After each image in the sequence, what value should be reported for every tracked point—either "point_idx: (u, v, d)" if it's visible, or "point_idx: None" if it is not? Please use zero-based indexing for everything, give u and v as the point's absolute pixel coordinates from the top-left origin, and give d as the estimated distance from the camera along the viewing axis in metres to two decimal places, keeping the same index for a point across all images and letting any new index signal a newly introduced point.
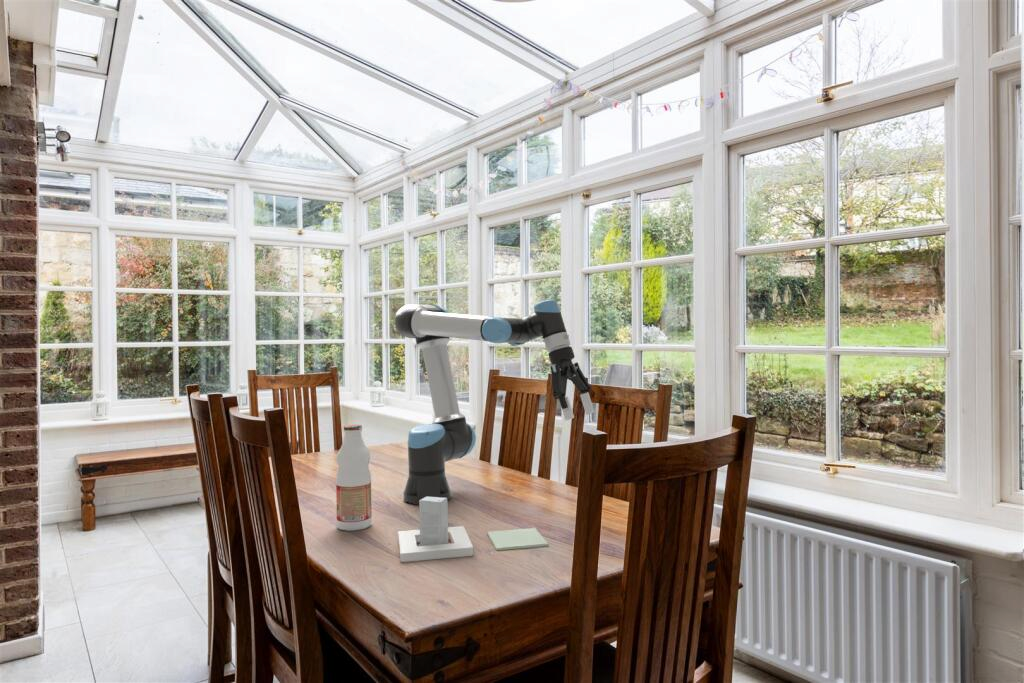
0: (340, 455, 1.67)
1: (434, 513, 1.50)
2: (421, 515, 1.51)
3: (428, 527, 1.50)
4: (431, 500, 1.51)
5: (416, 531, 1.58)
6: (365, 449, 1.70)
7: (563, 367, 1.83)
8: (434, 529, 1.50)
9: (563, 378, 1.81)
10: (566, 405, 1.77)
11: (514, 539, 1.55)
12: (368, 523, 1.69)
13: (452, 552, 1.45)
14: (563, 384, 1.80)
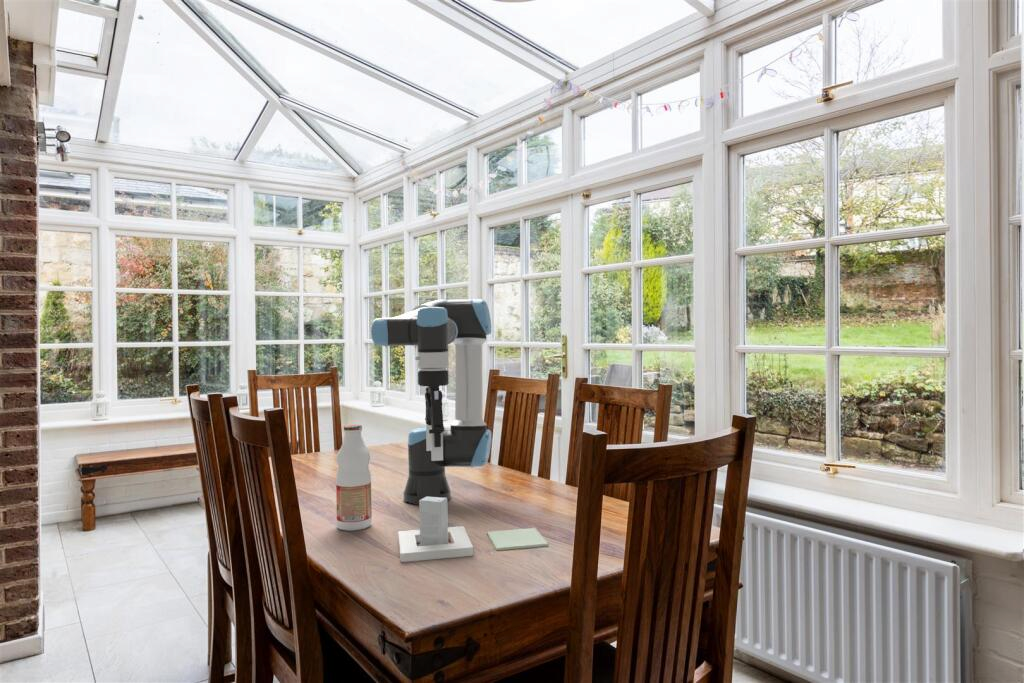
0: (340, 455, 1.67)
1: (434, 513, 1.50)
2: (421, 515, 1.51)
3: (428, 527, 1.50)
4: (431, 500, 1.51)
5: (416, 531, 1.58)
6: (365, 449, 1.70)
7: None
8: (434, 529, 1.50)
9: None
10: None
11: (514, 539, 1.55)
12: (368, 523, 1.69)
13: (452, 552, 1.45)
14: None
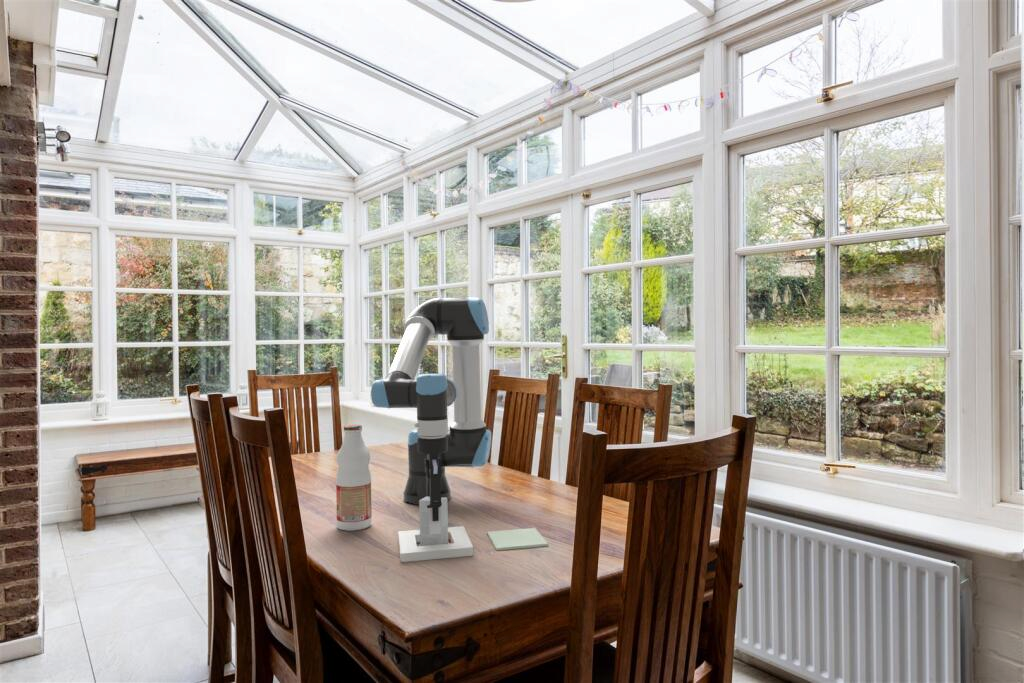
0: (340, 455, 1.67)
1: None
2: (421, 515, 1.51)
3: (428, 527, 1.50)
4: None
5: (416, 531, 1.58)
6: (365, 449, 1.70)
7: (427, 458, 1.55)
8: None
9: None
10: None
11: (514, 539, 1.55)
12: (368, 523, 1.69)
13: (452, 552, 1.45)
14: None
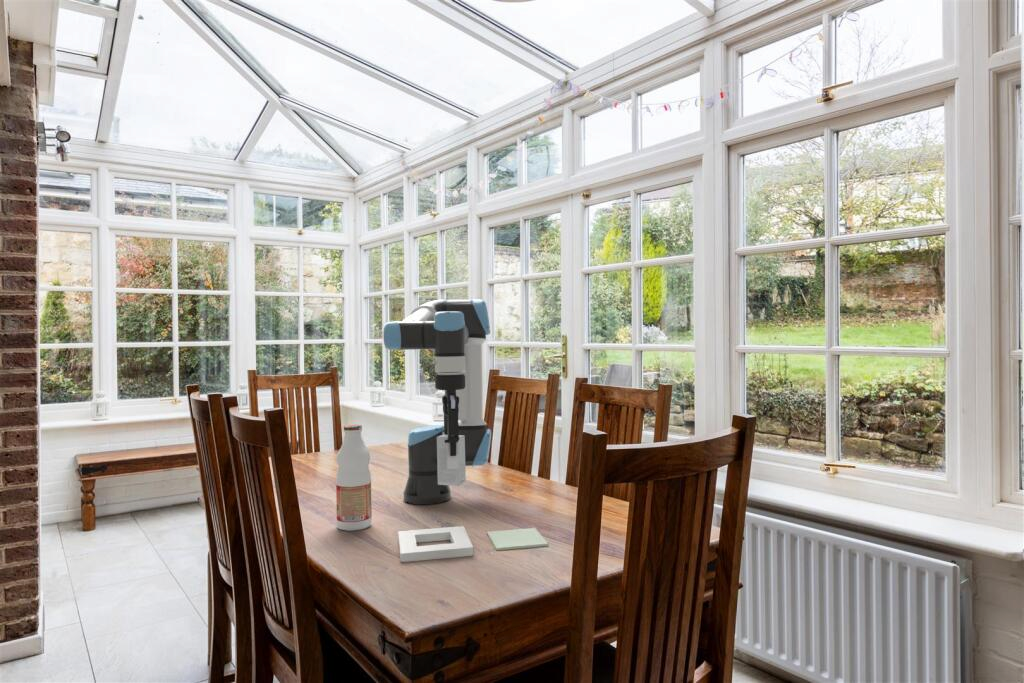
0: (340, 455, 1.67)
1: None
2: (439, 451, 1.52)
3: (445, 464, 1.51)
4: None
5: (416, 531, 1.58)
6: (365, 449, 1.70)
7: None
8: None
9: None
10: None
11: (514, 539, 1.55)
12: (368, 523, 1.69)
13: (452, 552, 1.45)
14: None
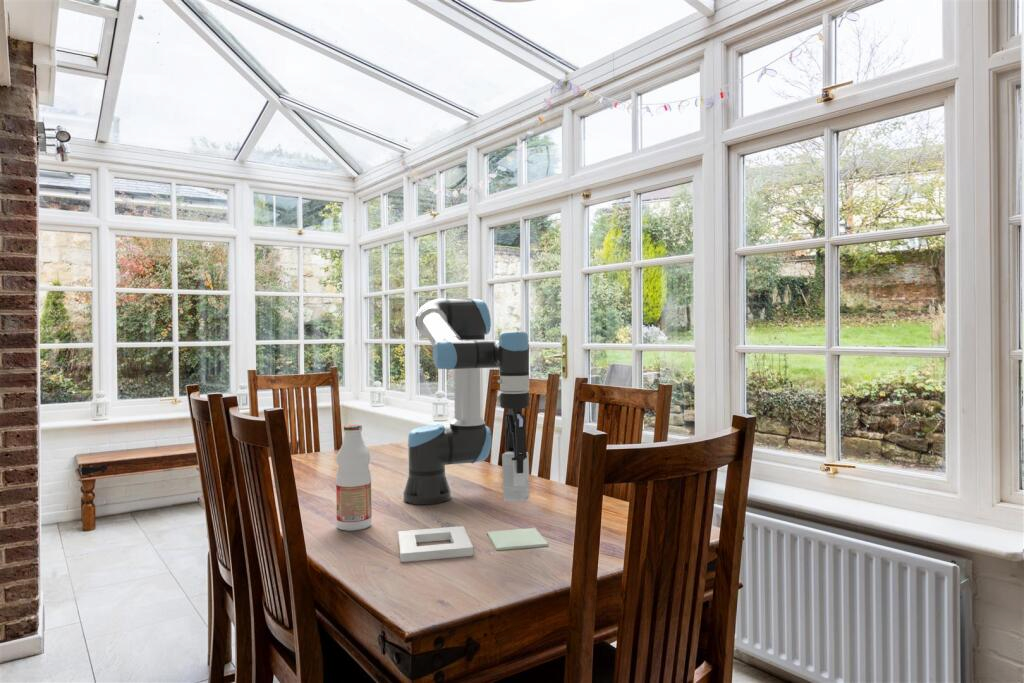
0: (340, 455, 1.67)
1: None
2: (504, 468, 1.55)
3: (511, 480, 1.55)
4: None
5: (416, 531, 1.58)
6: (365, 449, 1.70)
7: (508, 414, 1.59)
8: None
9: None
10: None
11: (514, 539, 1.55)
12: (368, 523, 1.69)
13: (452, 552, 1.45)
14: None
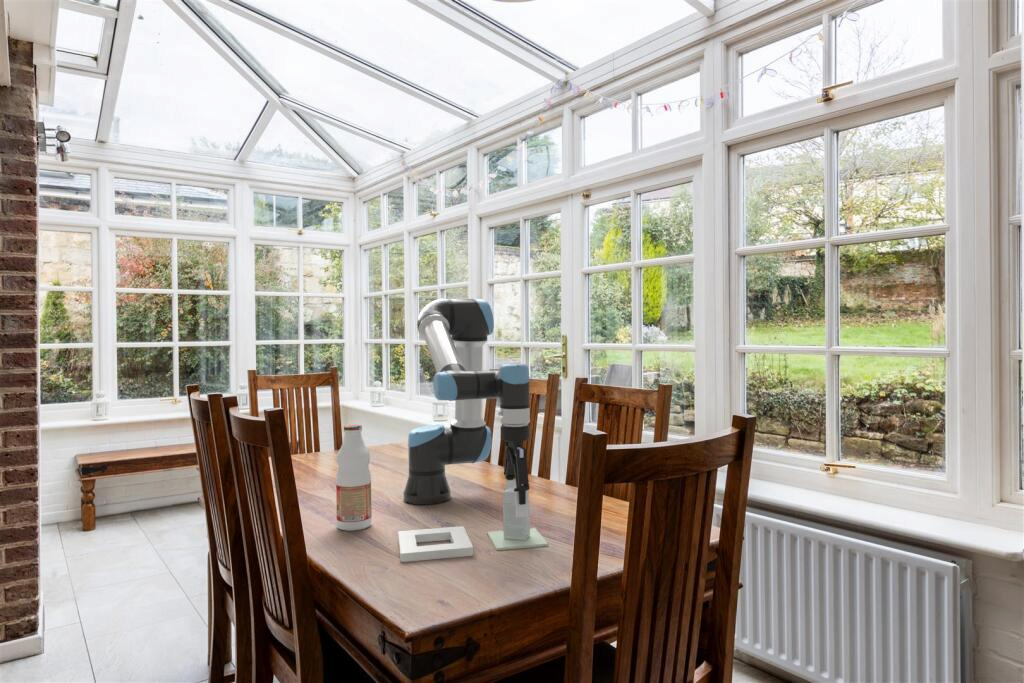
0: (340, 455, 1.67)
1: None
2: (505, 506, 1.55)
3: (512, 518, 1.55)
4: None
5: (416, 531, 1.58)
6: (365, 449, 1.70)
7: (508, 446, 1.59)
8: (518, 519, 1.54)
9: None
10: None
11: (514, 539, 1.55)
12: (368, 523, 1.69)
13: (452, 552, 1.45)
14: None
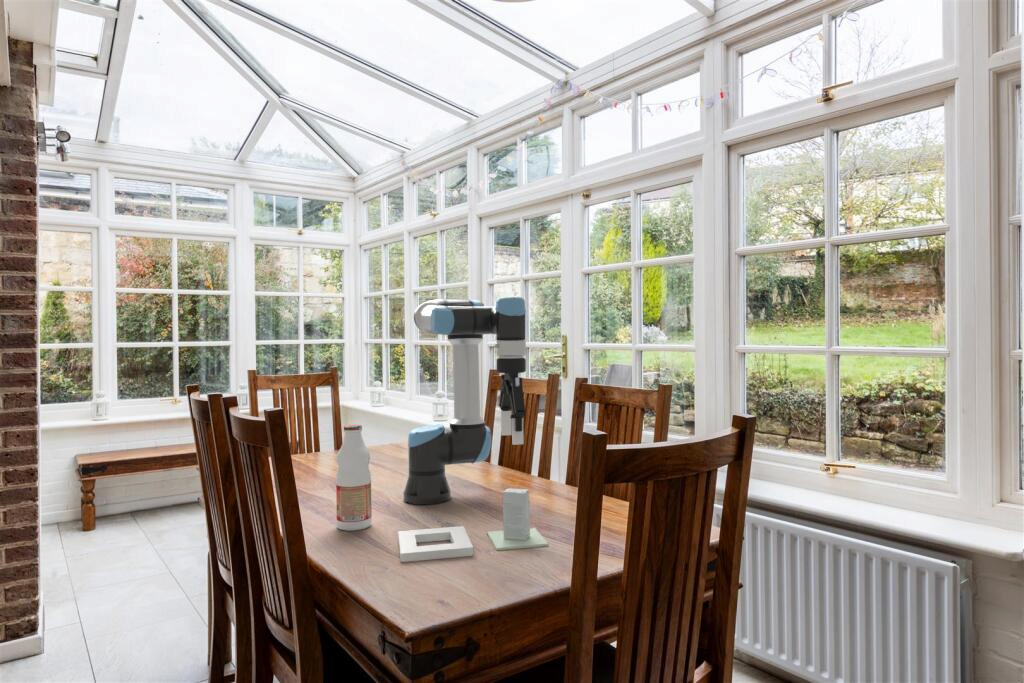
0: (340, 455, 1.67)
1: (518, 504, 1.54)
2: (505, 506, 1.55)
3: (512, 518, 1.55)
4: (515, 491, 1.55)
5: (416, 531, 1.58)
6: (365, 449, 1.70)
7: (504, 379, 1.61)
8: (518, 519, 1.54)
9: None
10: None
11: (514, 539, 1.55)
12: (368, 523, 1.69)
13: (452, 552, 1.45)
14: None
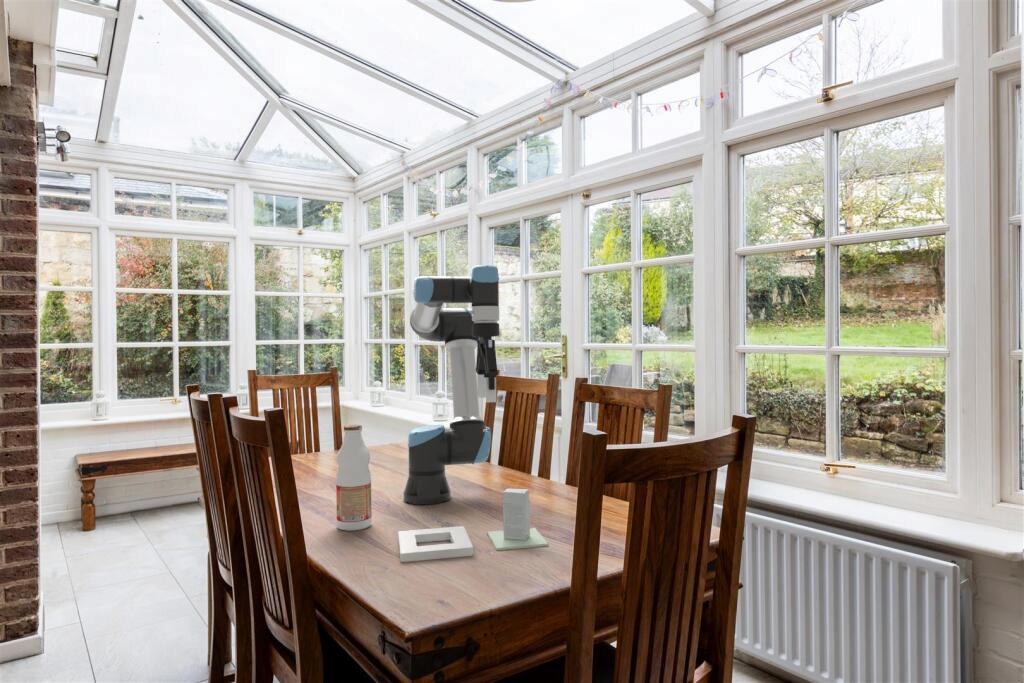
0: (340, 455, 1.67)
1: (518, 504, 1.54)
2: (505, 506, 1.55)
3: (512, 518, 1.55)
4: (515, 491, 1.55)
5: (416, 531, 1.58)
6: (365, 449, 1.70)
7: None
8: (518, 519, 1.54)
9: None
10: None
11: (514, 539, 1.55)
12: (368, 523, 1.69)
13: (452, 552, 1.45)
14: None
